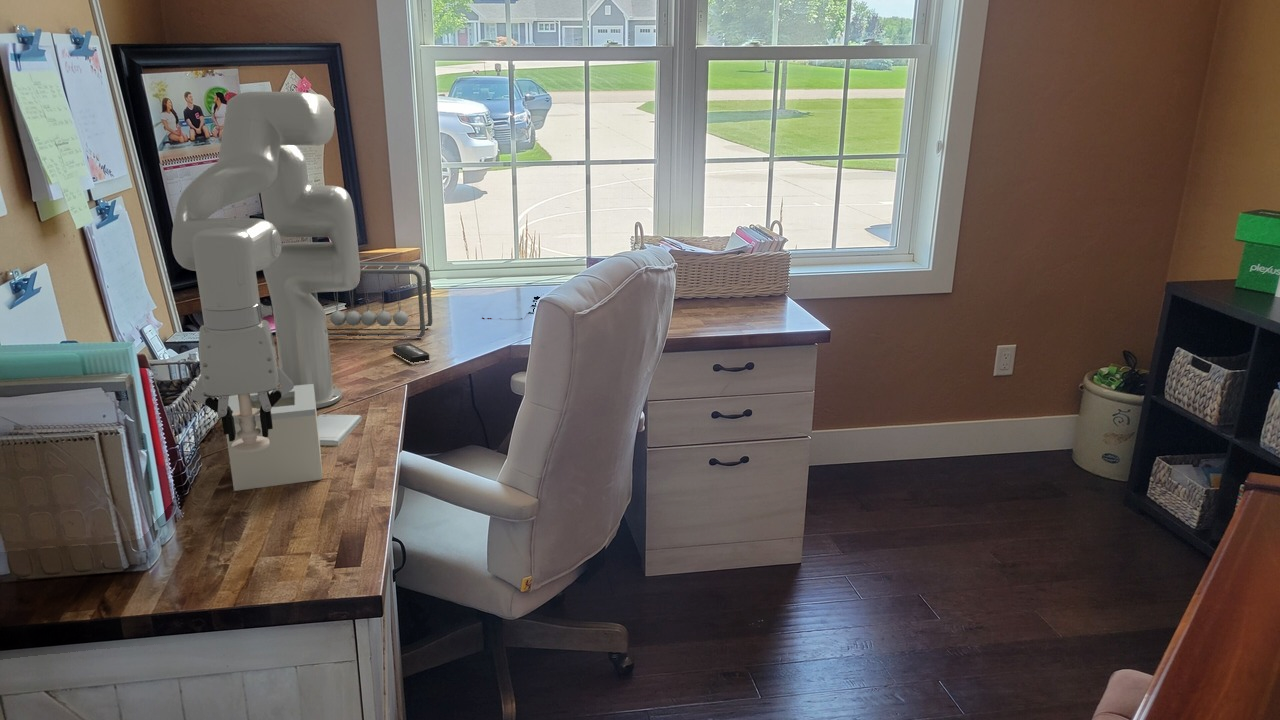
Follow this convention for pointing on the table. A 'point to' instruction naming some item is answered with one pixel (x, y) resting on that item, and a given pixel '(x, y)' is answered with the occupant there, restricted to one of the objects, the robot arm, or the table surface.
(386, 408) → the table surface
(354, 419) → the hard drive
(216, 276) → the robot arm
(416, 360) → the multiport hub
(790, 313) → the table surface
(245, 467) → the drop box
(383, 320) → the newton's cradle
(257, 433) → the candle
